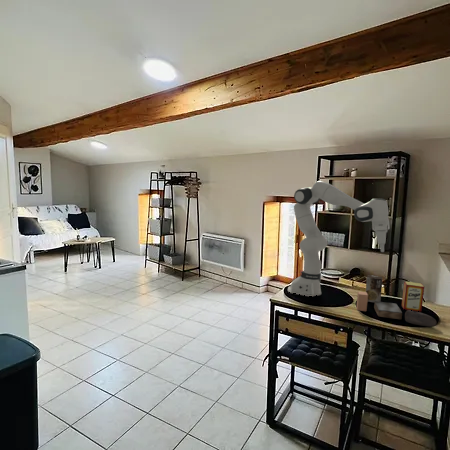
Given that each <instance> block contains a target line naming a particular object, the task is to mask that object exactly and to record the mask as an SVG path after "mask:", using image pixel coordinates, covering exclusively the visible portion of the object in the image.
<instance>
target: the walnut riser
mask: <svg viewBox="0 0 450 450" xmlns="http://www.w3.org/2000/svg"><path fill="white" fill-rule="evenodd" d="M373 303H374V302H373ZM373 308H374V311H375V312H376V315H377V317H379V318H380V317H381V318H387V319H396V320H402V318H403V317H402V316H403V312H402V310H401V308H400V307H399V306H398V304H397V303H393V302H383V301H380V302H378V301H375V303H374V305H373Z"/></svg>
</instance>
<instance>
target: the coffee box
mask: <svg viewBox="0 0 450 450" xmlns="http://www.w3.org/2000/svg"><path fill="white" fill-rule="evenodd" d="M383 279H384V278H383V276H381V275H372V274H367V276H366V284H365V292H367V294H368V300H367V303H368V302H370V303H375V301H378V302H382V301H381V300H382V287H383Z"/></svg>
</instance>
